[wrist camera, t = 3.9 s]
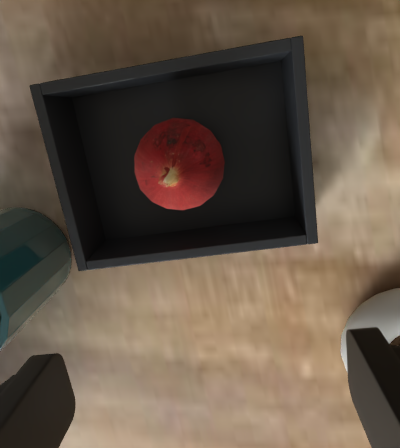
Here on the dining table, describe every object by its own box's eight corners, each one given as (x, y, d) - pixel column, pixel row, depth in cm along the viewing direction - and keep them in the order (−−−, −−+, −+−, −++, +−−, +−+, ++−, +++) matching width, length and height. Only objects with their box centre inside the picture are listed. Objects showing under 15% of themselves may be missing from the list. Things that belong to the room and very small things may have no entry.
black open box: (101, 246, 31) (78, 271, 26) (63, 89, 28) (28, 85, 23) (303, 221, 29) (318, 243, 24) (289, 49, 26) (303, 35, 21)
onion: (149, 114, 27) (117, 115, 19) (228, 120, 27) (228, 124, 19) (146, 192, 29) (116, 222, 21) (221, 199, 29) (217, 232, 21)
